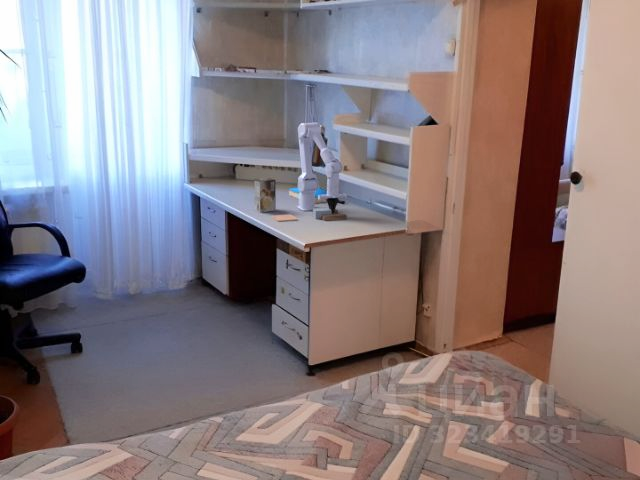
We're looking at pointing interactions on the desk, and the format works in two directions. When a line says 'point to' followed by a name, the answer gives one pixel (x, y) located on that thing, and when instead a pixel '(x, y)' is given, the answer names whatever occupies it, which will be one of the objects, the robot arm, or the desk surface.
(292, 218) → the tile
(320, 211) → the block
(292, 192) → the book
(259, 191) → the coffee box
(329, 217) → the pair of brown bars
